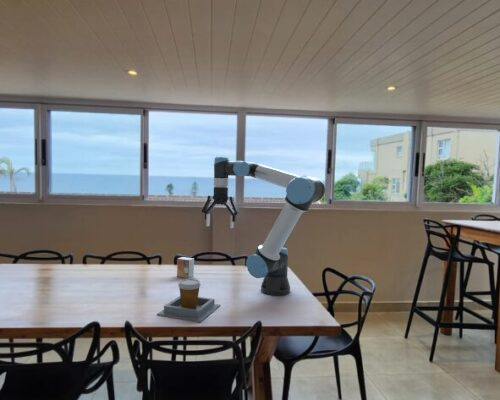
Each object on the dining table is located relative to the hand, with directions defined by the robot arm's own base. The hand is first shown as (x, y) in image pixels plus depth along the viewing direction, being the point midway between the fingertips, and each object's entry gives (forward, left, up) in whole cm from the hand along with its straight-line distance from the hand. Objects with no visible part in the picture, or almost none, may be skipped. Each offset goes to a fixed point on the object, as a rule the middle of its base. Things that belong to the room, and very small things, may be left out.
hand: (219, 227), depth 188 cm
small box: (+25, -10, -32) cm, 42 cm away
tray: (-2, +36, -32) cm, 48 cm away
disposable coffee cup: (-2, +36, -31) cm, 48 cm away
